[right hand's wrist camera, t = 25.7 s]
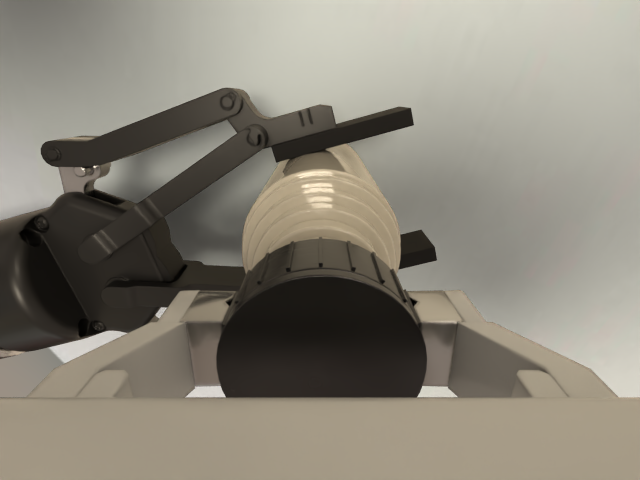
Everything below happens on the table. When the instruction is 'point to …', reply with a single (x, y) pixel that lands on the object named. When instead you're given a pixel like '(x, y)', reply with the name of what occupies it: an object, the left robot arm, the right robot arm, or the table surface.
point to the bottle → (321, 207)
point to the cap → (321, 327)
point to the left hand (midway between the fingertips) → (417, 183)
